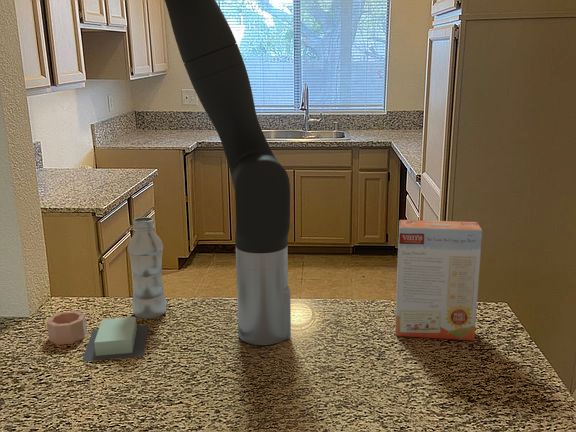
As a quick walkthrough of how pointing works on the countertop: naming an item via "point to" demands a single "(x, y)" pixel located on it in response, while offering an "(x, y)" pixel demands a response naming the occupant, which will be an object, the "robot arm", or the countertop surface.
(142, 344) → the mat
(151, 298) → the plastic bottle
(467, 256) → the cracker box
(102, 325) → the block
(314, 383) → the countertop surface
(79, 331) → the bowl
